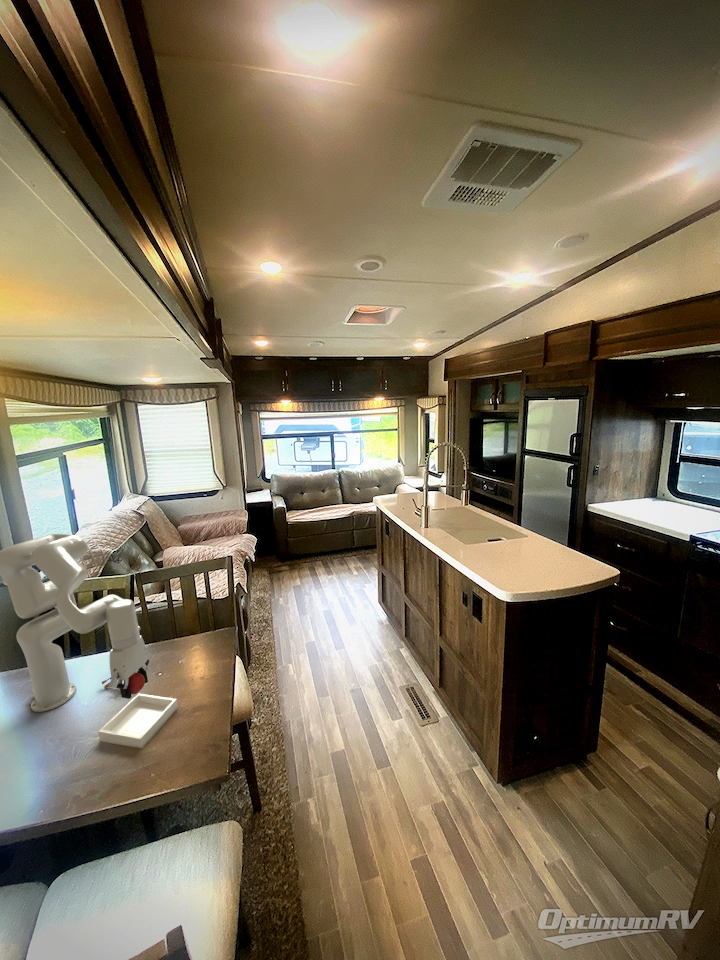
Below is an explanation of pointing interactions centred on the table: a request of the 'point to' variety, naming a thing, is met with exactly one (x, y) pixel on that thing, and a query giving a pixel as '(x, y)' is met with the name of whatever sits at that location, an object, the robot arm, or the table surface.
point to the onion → (136, 682)
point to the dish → (138, 720)
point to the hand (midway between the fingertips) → (135, 689)
